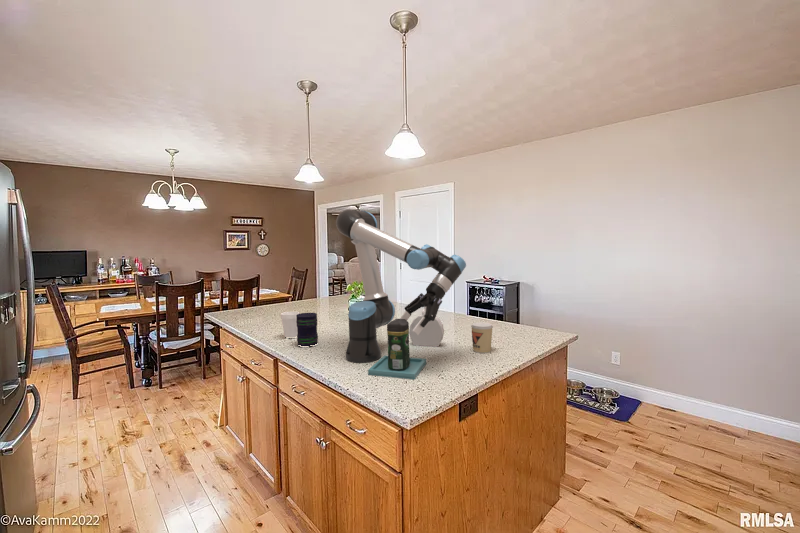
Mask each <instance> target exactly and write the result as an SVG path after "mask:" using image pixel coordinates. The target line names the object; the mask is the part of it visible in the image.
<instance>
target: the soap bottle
mask: <svg viewBox="0 0 800 533" xmlns="http://www.w3.org/2000/svg"><path fill="white" fill-rule="evenodd" d="M425 313H426V307H423V309H422V311H421V314H418V315H417V316H416V317H415V318H414V319H413V320H412V322H411V323H410V324H409V340H410V341H411V343H412V344H413V346H416V345H417V346H418V347H436V348H438V347H440V346H439V345H441V343H442V341H443V340H444V335H445V328H444V324H443V323H442V321H441V319H440V317H438V316H437V315H436V317H435V320H434V321H432V320H431V321H429V322H428V323H427V324H426V326H425V327H424V328H423V329H422V331H421V332H420V333H419V335H417V334H416V333H415V332H414V331H413V329H414V328H415V327H416V325H417V324H418V323H419V321H420V320H421V319H422V317H424V315H425ZM424 318H425V317H424Z"/></svg>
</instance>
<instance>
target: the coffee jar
mask: <svg viewBox="0 0 800 533" xmlns="http://www.w3.org/2000/svg"><path fill="white" fill-rule="evenodd" d="M409 331H410V324H409V321H408V320H406V319H400V318H395V319H392V321H391V322H389V323H388V324H386V334H387V356H388V368H389V369H392V370H405V369H406V368H407V367H408V366H409V364H410V358H411V356H410V334H409Z"/></svg>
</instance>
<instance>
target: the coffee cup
mask: <svg viewBox="0 0 800 533" xmlns="http://www.w3.org/2000/svg"><path fill="white" fill-rule="evenodd" d="M493 327H494V326H493V324H492V323H489V322H486V321H485V322H483V321H476V322H472V323H471V325H470V328H471V339H472V340H471V341H472V351H473V352H474V353H478V354H489V353H491V352H492V351H491V350H492V336H493Z"/></svg>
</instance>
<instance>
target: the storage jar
mask: <svg viewBox="0 0 800 533" xmlns="http://www.w3.org/2000/svg"><path fill="white" fill-rule="evenodd" d="M317 315H318V314H317V313H316V312H302V313H300V314H297V315H296V317H297V320H296V323H297V331H298V334H297V338H296V341H297V346H298V345H301V346H310V345H315V344H317V343H318V344H319V336H318V335H319V333H318V316H317Z"/></svg>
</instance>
